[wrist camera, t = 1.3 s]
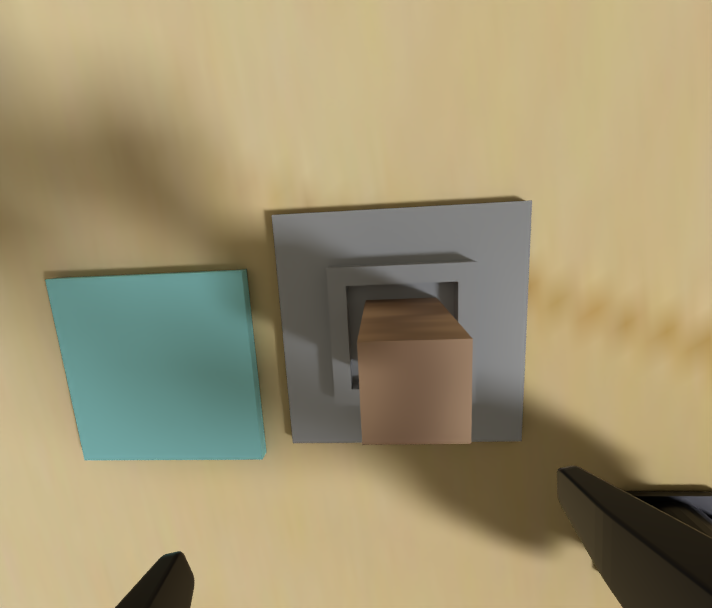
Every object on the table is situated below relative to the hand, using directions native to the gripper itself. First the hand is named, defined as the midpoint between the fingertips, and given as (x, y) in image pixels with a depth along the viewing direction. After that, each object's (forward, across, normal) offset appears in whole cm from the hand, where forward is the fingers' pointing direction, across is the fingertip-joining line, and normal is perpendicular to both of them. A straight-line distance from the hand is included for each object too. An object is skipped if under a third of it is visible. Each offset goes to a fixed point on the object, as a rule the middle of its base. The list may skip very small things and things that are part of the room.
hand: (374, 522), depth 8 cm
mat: (+15, +12, +1) cm, 19 cm away
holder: (+13, -3, +1) cm, 13 cm away
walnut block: (+12, -3, +1) cm, 13 cm away
